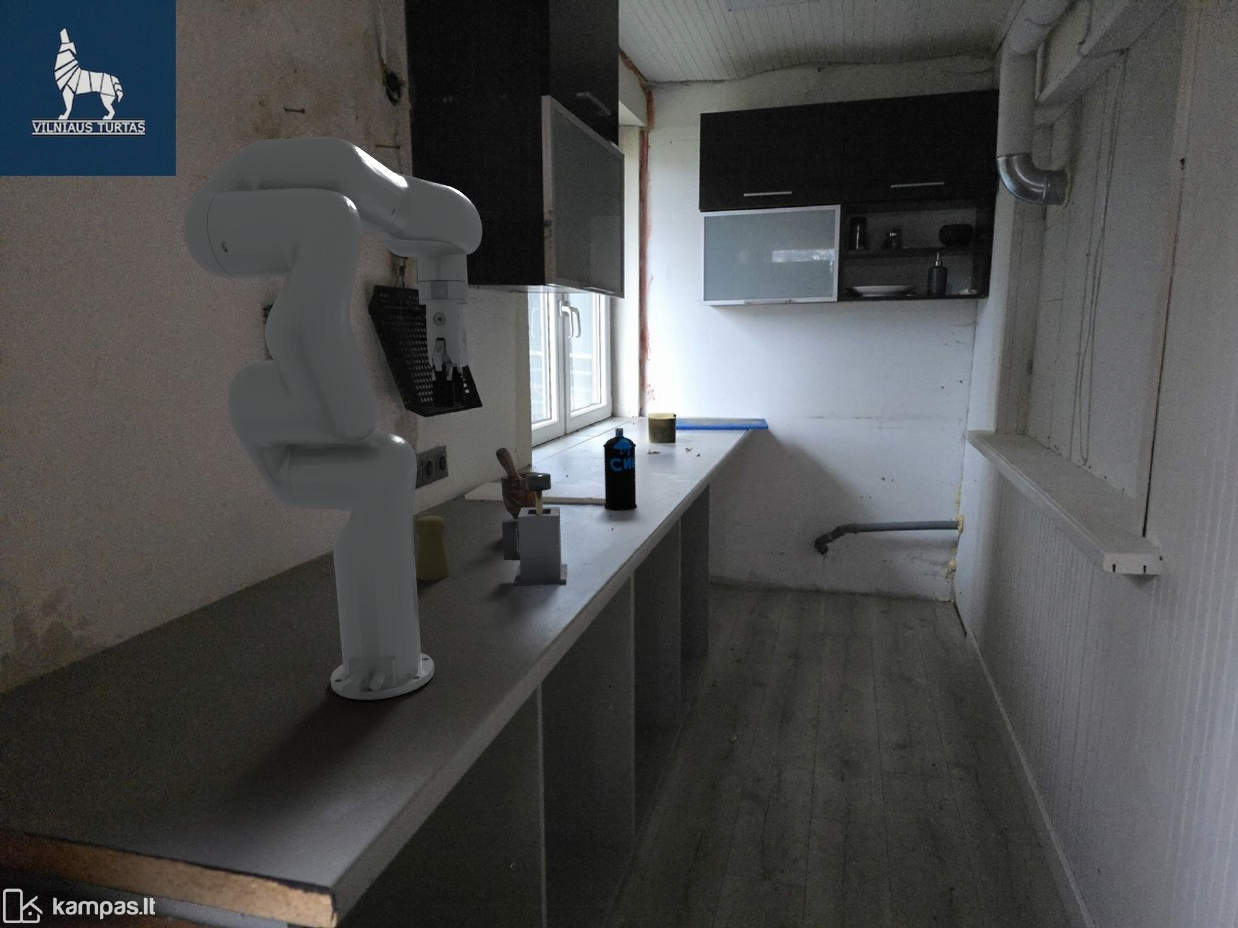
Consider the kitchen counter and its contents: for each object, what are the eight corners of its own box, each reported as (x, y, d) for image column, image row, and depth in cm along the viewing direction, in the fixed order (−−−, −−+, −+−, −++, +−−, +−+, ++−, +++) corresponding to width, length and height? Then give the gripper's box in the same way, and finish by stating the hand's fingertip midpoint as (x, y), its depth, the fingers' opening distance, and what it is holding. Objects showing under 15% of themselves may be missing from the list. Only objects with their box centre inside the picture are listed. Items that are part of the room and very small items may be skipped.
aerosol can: (599, 505, 194) (597, 427, 191) (628, 502, 197) (627, 425, 194) (612, 511, 187) (611, 431, 183) (642, 508, 190) (641, 428, 187)
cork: (441, 581, 136) (437, 521, 134) (410, 579, 137) (406, 520, 135) (455, 570, 142) (452, 513, 140) (425, 569, 143) (421, 512, 141)
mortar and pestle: (534, 542, 160) (531, 448, 157) (494, 541, 161) (490, 448, 158) (546, 528, 172) (543, 441, 168) (509, 528, 173) (505, 441, 169)
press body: (566, 583, 133) (564, 516, 131) (502, 585, 132) (499, 518, 130) (567, 568, 142) (565, 505, 140) (507, 570, 141) (504, 507, 139)
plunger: (552, 558, 134) (550, 477, 132) (527, 559, 134) (524, 477, 132) (553, 551, 139) (551, 472, 136) (529, 552, 139) (526, 473, 136)
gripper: (459, 291, 110) (465, 408, 113) (475, 297, 127) (480, 399, 130) (406, 291, 110) (414, 409, 113) (430, 298, 127) (436, 400, 130)
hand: (449, 404), depth 121 cm, fingers open, 9 cm apart
